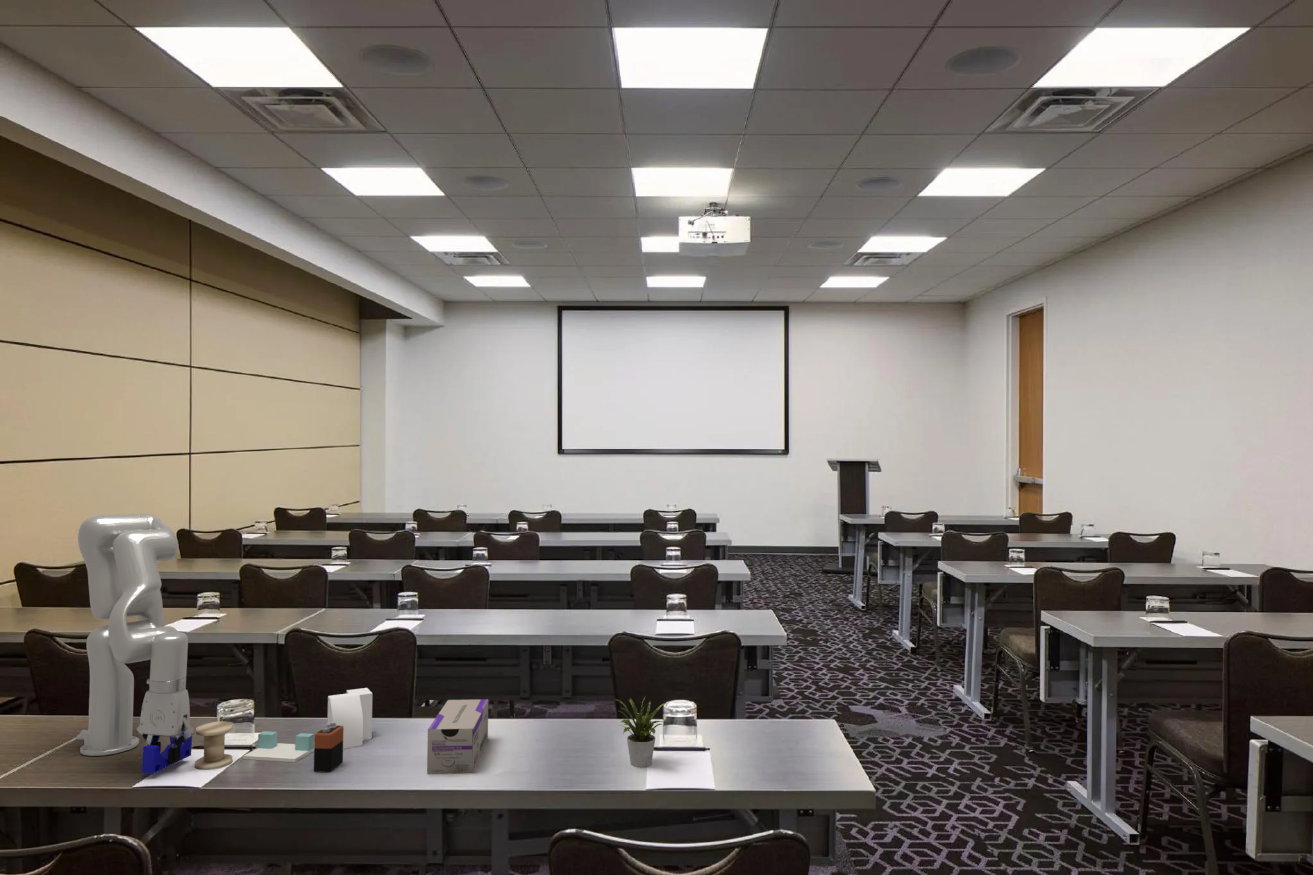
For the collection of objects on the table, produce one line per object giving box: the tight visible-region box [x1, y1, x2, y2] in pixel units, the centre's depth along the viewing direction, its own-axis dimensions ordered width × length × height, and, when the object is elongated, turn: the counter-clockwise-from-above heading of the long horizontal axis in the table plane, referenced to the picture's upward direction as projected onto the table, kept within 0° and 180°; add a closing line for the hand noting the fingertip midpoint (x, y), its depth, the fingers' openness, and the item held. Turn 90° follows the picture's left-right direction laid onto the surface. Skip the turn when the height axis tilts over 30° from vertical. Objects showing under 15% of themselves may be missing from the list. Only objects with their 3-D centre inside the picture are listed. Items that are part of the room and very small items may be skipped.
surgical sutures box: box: [426, 698, 489, 775], centre depth 205 cm, size 25×11×11 cm, turn 4°
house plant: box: [614, 695, 667, 768], centre depth 199 cm, size 14×14×16 cm
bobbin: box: [194, 721, 234, 771], centre depth 198 cm, size 8×8×9 cm
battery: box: [313, 723, 344, 773], centre depth 196 cm, size 4×7×10 cm, turn 176°
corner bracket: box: [326, 687, 373, 750], centre depth 215 cm, size 11×11×12 cm
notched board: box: [242, 730, 315, 763], centre depth 205 cm, size 14×10×4 cm
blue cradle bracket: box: [141, 731, 193, 775], centre depth 194 cm, size 12×4×6 cm, turn 170°
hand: (163, 760), depth 194 cm, fingers closed on blue cradle bracket, 4 cm apart
